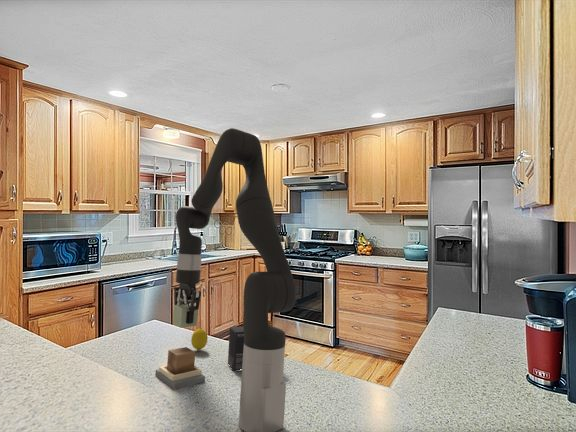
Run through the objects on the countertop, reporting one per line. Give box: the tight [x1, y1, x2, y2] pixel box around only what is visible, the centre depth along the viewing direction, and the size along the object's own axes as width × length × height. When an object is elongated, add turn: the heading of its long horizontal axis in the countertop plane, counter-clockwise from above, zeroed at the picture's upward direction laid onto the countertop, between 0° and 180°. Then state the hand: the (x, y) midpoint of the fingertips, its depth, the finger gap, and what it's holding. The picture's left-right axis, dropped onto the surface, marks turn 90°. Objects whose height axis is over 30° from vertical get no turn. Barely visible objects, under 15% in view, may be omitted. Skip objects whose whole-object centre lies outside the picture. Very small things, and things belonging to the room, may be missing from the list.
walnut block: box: [166, 346, 196, 375], centre depth 100 cm, size 6×6×6 cm
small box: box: [227, 326, 244, 372], centre depth 113 cm, size 13×7×12 cm, turn 115°
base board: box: [155, 364, 206, 390], centre depth 100 cm, size 12×9×3 cm
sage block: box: [172, 304, 199, 329], centre depth 113 cm, size 6×6×6 cm
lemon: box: [190, 327, 208, 351], centre depth 125 cm, size 6×6×8 cm
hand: (184, 321), depth 113 cm, fingers closed on sage block, 5 cm apart
